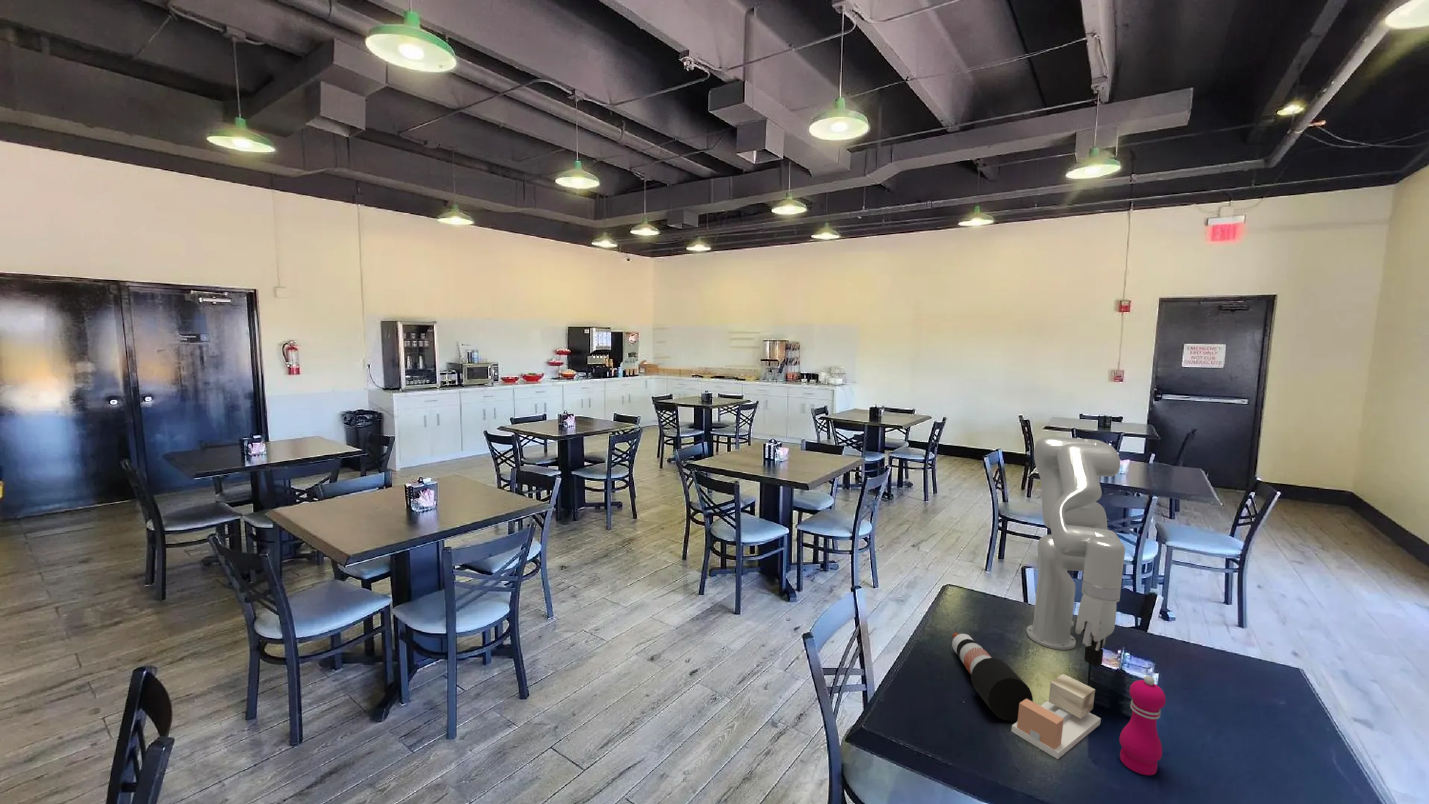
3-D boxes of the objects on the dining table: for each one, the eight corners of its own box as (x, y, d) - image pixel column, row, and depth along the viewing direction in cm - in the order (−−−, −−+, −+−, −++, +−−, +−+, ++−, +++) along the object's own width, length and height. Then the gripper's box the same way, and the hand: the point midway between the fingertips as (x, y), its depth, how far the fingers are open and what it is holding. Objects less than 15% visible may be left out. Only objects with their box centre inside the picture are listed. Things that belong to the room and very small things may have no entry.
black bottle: (962, 659, 166) (980, 629, 166) (1018, 728, 133) (1040, 691, 132) (931, 642, 166) (949, 612, 166) (980, 707, 133) (1002, 670, 132)
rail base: (1055, 700, 142) (1058, 672, 141) (1100, 724, 133) (1103, 694, 132) (1011, 731, 130) (1014, 700, 129) (1057, 759, 122) (1061, 727, 121)
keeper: (1060, 693, 139) (1063, 673, 139) (1092, 709, 134) (1095, 689, 133) (1048, 701, 136) (1050, 682, 135) (1080, 718, 130) (1083, 698, 130)
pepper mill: (1108, 752, 125) (1119, 666, 122) (1139, 751, 125) (1151, 665, 123) (1135, 778, 117) (1147, 688, 115) (1168, 777, 118) (1181, 687, 115)
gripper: (1097, 577, 143) (1090, 647, 145) (1068, 590, 135) (1061, 664, 137) (1132, 588, 137) (1124, 661, 139) (1104, 603, 129) (1096, 680, 131)
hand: (1092, 663), depth 138 cm, fingers closed
